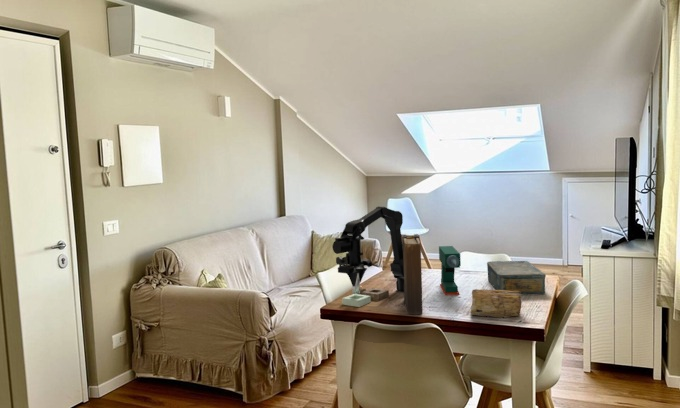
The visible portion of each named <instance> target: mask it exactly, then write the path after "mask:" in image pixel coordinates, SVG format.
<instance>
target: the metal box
mask: <svg viewBox="0 0 680 408" xmlns="http://www.w3.org/2000/svg"><path fill="white" fill-rule="evenodd" d="M486 267H487V280H488V282H489V283H490V284H491V285H492V287H493V288H494V290H506V291H521V294H527V295H528V294H539V295H545V294H546V275H547V274H545V273H544V272H543V271H541V270H540V269H539V268H537V266H535V265H533V264H532V263H531V262H530V261H528V260H503V261H501V260H495V261H493V260H492V261H487V262H486Z"/></svg>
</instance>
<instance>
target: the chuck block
mask: <svg viewBox="0 0 680 408" xmlns="http://www.w3.org/2000/svg"><path fill="white" fill-rule="evenodd" d="M362 295H367V296H370V297H371V300H372V301H381V300H383V299H386V298H388V297H390V290H389V289H382V288H376V287H375V288H374V287H372V288H369V289H366V291H364V292H362Z"/></svg>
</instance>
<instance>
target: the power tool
mask: <svg viewBox="0 0 680 408" xmlns="http://www.w3.org/2000/svg"><path fill="white" fill-rule="evenodd" d="M438 257H439V261H440V264H441V269H440V270H441V273H440V274H441V276H440V283H439V287H440V289H441V290H442V292H443V295H444V296H459V295H460V292H459V290H458V289H459V287H458V285H457V283H456V282H455V272H456V270H455V269H459V268H461V264H462V263H461V253H460V252H459V251H458V250H456V248H455V247H454V246H453V245H443V246H438Z"/></svg>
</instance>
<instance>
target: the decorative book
mask: <svg viewBox="0 0 680 408" xmlns="http://www.w3.org/2000/svg"><path fill="white" fill-rule="evenodd" d="M413 236H414V238H407V234H401V237H402V248H403V262H404V292H403V300H404V305H405V308H406V309H405V311H406V313H407V314H409V315H422V314H423V310H424V309H423V281H422V280H423V279H422V278H423V277H422V275H423V274H422V244H421V243H422V242H421V240H420V235H419V233H418V234H417V233H414V234H413Z"/></svg>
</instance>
